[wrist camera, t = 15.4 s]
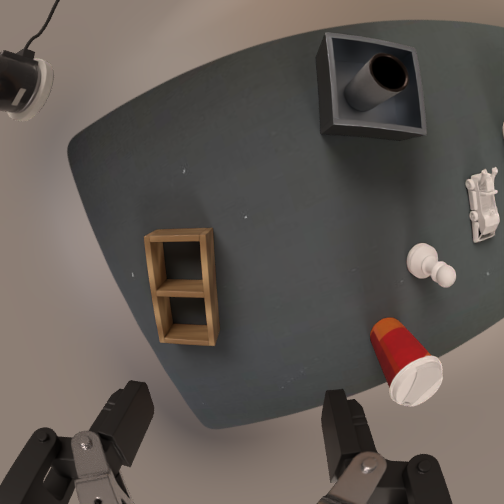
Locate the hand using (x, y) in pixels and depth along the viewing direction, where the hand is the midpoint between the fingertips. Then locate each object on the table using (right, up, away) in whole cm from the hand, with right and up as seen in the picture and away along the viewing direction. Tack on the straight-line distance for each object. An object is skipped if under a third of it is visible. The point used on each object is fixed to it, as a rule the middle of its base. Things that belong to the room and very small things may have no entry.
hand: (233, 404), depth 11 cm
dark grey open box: (+15, +27, +21) cm, 37 cm away
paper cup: (+22, -6, +30) cm, 37 cm away
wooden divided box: (-8, +2, +29) cm, 30 cm away
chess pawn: (+26, +6, +26) cm, 37 cm away
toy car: (+37, +14, +23) cm, 46 cm away
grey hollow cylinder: (+15, +27, +20) cm, 37 cm away
